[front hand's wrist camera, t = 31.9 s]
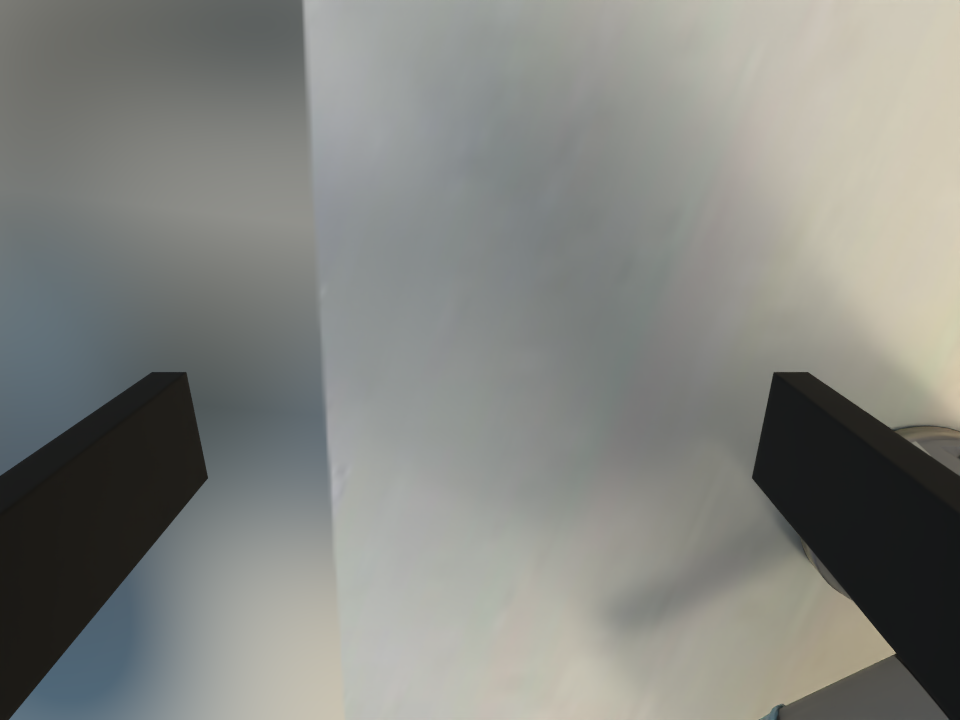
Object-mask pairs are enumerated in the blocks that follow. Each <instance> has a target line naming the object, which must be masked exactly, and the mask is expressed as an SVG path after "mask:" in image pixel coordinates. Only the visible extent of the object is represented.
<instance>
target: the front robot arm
mask: <svg viewBox="0 0 960 720" xmlns="http://www.w3.org/2000/svg"><path fill="white" fill-rule="evenodd" d="M207 479H208V476H207V471H206V466H205V461H204V456H203V451H202V446H201V442H200V437H199V432H198V427H197V422H196V417H195V413H194V407H193V403H192V398H191V393H190V388H189V383H188V378H187V373H186V372H152V373H150V374H149V375H147V376H146V377H144V378H143V379H141V380H140V381H138V382H137V383H136V384H134V385H133V386H131V387H130V388H128V389H127V390H125V391H124V392H122V393H121V394H119V395H118V396H117V397H115V398H114V399H112V400H111V401H109V402H108V403H106V404H105V405H103V406H102V407H100V408H99V409H98V410H96V411H95V412H93V413H92V414H90V415H89V416H87V417H86V418H84V419H83V420H81V421H80V422H78V423H77V424H76V425H74V426H73V427H71V428H70V429H68V430H67V431H65V432H64V433H62V434H61V435H59V436H58V437H57V438H55V439H54V440H52V441H51V442H49V443H48V444H46V445H45V446H43V447H42V448H40V449H39V450H38V451H36V452H35V453H33V454H32V455H30V456H29V457H27V458H26V459H24V460H23V461H21V462H20V463H18V464H17V465H16V466H14V467H13V468H11V469H10V470H8V471H7V472H5V473H4V474H2V475H1V476H0V720H9V719H10V718H11V716H12V715H13V714H14V713H15V712H16V710H17V709H18V708H19V707H20V705H21V704H22V703H23V702H24V701H25V699H26V698H27V697H28V696H29V695H30V693H31V692H32V691H33V690H34V689H35V687H36V686H37V685H38V684H39V682H40V681H41V680H42V679H43V678H44V676H45V675H46V674H47V673H48V672H49V670H50V669H51V668H52V667H53V665H54V664H55V663H56V662H57V661H58V659H59V658H60V657H61V656H62V655H63V653H64V652H65V651H66V650H67V648H68V647H69V646H70V645H71V644H72V642H73V641H74V640H75V639H76V637H77V636H78V635H79V634H80V633H81V631H82V630H83V629H84V628H85V627H86V625H87V624H88V623H89V622H90V621H91V619H92V618H93V617H94V616H95V615H96V613H97V612H98V611H99V610H100V608H101V607H102V606H103V605H104V604H105V602H106V601H107V600H108V599H109V598H110V596H111V595H112V594H113V593H114V591H115V590H116V589H117V588H118V587H119V585H120V584H121V583H122V582H123V581H124V579H125V578H126V577H127V576H128V574H129V573H130V572H131V571H132V570H133V568H134V567H135V566H136V565H137V563H138V562H139V561H140V560H141V559H142V558H143V556H144V555H145V554H146V553H147V551H148V550H149V549H150V548H151V547H152V545H153V544H154V543H155V542H156V541H157V539H158V538H159V537H160V536H161V534H162V533H163V532H164V531H165V530H166V528H167V527H168V526H169V525H170V523H171V522H172V521H173V520H174V519H175V517H176V516H177V515H178V514H179V513H180V511H181V510H182V509H183V508H184V507H185V505H186V504H187V503H188V502H189V500H190V499H191V498H192V497H193V496H194V494H195V493H196V492H197V491H198V489H199V488H200V487H201V486H202V485H203V484H204V482H205V481H206V480H207ZM752 479H753V480H754V481H755V482H756V484H757V485H758V486H759V487H760V488H761V490H762V491H763V492H764V493H765V494H766V496H767V497H768V498H769V499H770V500H771V502H772V503H773V504H774V505H775V507H776V508H777V509H778V510H779V511H780V513H781V514H782V515H783V516H784V517H785V519H786V520H787V521H788V522H789V524H790V525H791V526H792V527H793V528H794V530H795V531H796V532H797V533H798V534H799V536H800V537H801V542H802V545H803V548H804V551H805V553H806V555H807V557H808V559H809V560H810V562H811V563H812V564H813V565H814V567H815V568H816V569H817V570H818V572H819V573H820V574H821V575H822V577H823V578H824V579H825V580H826V581H827V583H828V584H829V585H831V586H832V587H833V588H834V589H835V590H837V591H838V592H840V593H841V594H843V595H844V596H846V597H848V598H849V599H851V600H852V601H854V602H855V604H856V605H857V606H858V607H859V608H860V610H861V611H862V612H863V613H864V615H865V616H866V617H867V618H868V619H869V621H870V622H871V623H872V624H873V625H874V627H875V628H876V629H877V630H878V631H879V633H880V634H881V635H882V636H883V638H884V639H885V640H886V641H887V642H888V644H889V645H890V646H891V647H892V648H893V650H894V651H895V652H896V653H897V654H895V655H892V656H890V657H888V658H886V659H884V660H882V661H879V662H877V663H875V664H873V665H871V666H869V667H867V668H865V669H863V670H860V671H858V672H856V673H854V674H852V675H850V676H848V677H846V678H844V679H841V680H839V681H837V682H835V683H833V684H831V685H829V686H827V687H825V688H822V689H820V690H818V691H816V692H814V693H812V694H810V695H808V696H806V697H803V698H801V699H799V700H797V701H795V702H793V703H791V704H789V705H786V706H785V705H784V704H780V705H777V706H775V707H774V708H773V709H772V710H771V713H770V714H768V715H766V716H765V717H763V718H761V719H759V720H960V432H959V431H956V430H952V429H948V428H941V427H913V428H905V429H901V430H896V431H893V430H892V429H890V428H889V427H887V426H886V425H884V424H883V423H882V422H880V421H879V420H877V419H876V418H874V417H873V416H871V415H870V414H868V413H867V412H865V411H864V410H862V409H861V408H860V407H858V406H857V405H855V404H854V403H852V402H851V401H849V400H848V399H846V398H845V397H843V396H842V395H841V394H839V393H838V392H836V391H835V390H833V389H832V388H830V387H829V386H827V385H826V384H824V383H823V382H822V381H820V380H819V379H817V378H816V377H814V376H813V375H811V374H810V373H808V372H774V373H773V378H772V383H771V388H770V393H769V398H768V403H767V407H766V412H765V417H764V422H763V427H762V432H761V437H760V442H759V446H758V451H757V456H756V461H755V466H754V471H753V476H752Z"/></svg>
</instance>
